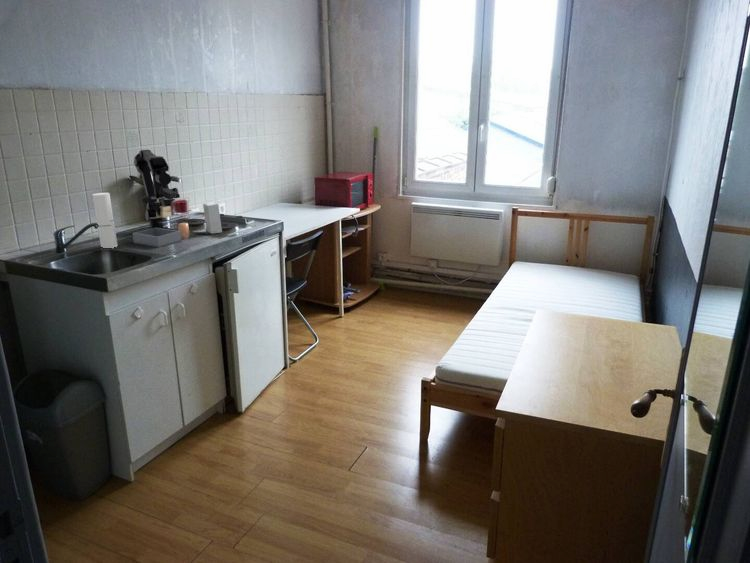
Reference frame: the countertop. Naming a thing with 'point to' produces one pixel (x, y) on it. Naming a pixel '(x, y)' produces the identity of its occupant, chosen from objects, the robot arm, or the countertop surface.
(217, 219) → the skincare box
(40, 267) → the countertop surface
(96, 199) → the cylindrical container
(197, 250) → the countertop surface
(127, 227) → the countertop surface
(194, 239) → the countertop surface
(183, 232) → the terracotta cylinder
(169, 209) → the beech cube
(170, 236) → the tote
